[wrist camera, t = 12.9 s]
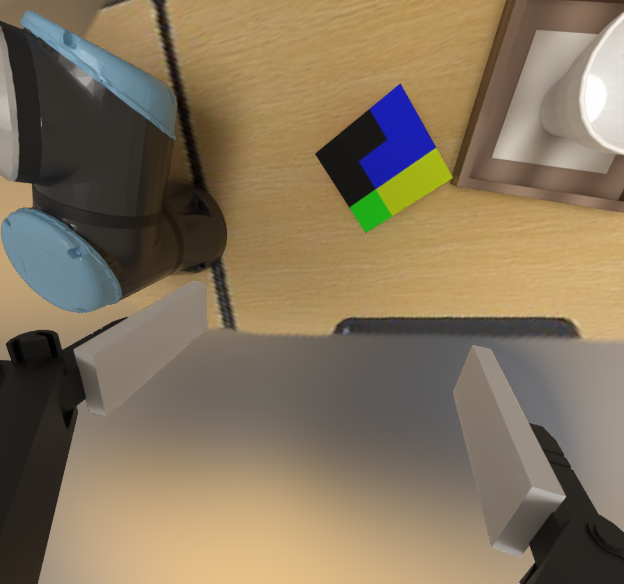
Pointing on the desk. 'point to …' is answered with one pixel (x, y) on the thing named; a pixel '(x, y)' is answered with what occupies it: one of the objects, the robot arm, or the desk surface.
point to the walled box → (537, 110)
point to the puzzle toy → (384, 160)
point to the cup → (591, 95)
